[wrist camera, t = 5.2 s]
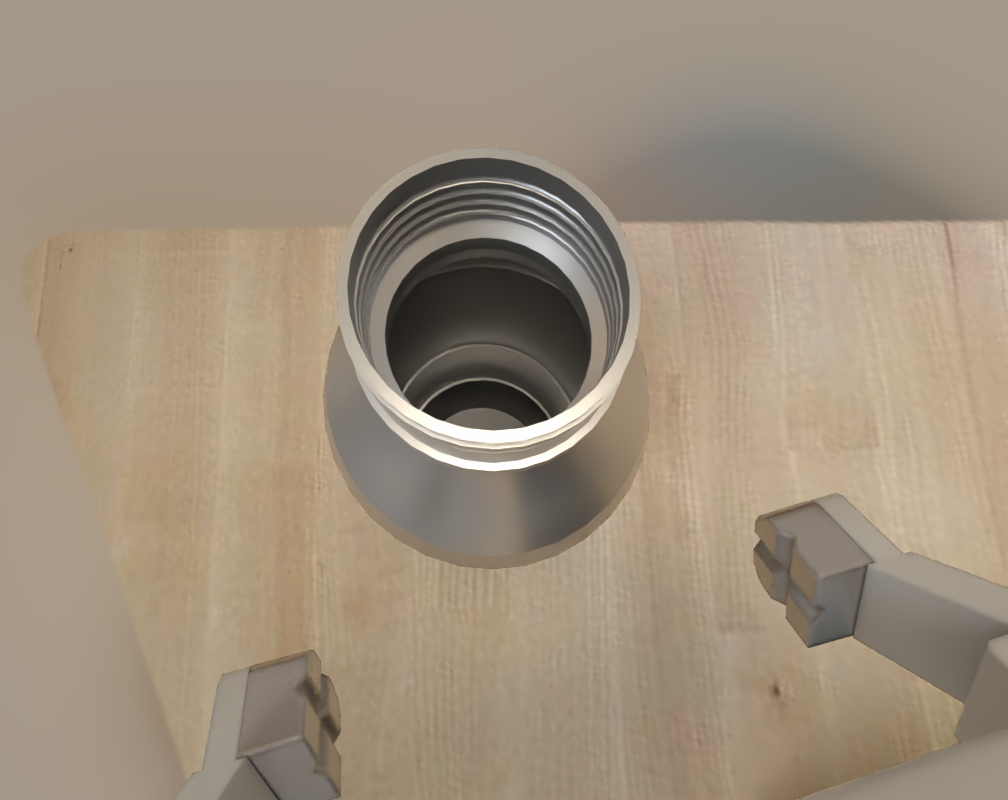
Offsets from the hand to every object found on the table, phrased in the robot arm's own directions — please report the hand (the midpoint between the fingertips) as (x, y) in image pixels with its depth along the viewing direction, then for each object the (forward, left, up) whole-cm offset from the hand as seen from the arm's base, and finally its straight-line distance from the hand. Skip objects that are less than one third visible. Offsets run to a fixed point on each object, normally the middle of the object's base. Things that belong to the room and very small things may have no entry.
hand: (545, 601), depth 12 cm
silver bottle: (-2, +4, -15) cm, 16 cm away
